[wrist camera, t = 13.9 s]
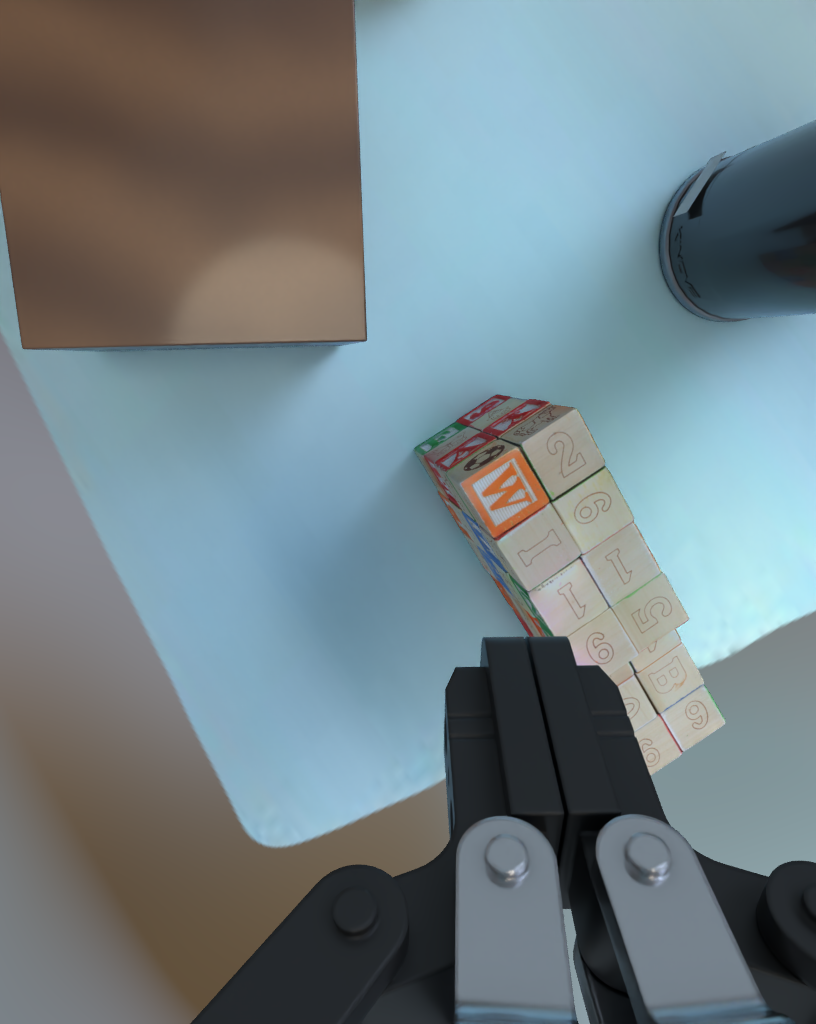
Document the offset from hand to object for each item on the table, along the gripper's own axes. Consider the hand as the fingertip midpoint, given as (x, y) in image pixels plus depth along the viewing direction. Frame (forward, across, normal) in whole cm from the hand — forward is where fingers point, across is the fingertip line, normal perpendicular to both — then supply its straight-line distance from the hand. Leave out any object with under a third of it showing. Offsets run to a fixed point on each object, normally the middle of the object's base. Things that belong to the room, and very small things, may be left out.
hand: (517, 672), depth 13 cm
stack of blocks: (+28, -6, +17) cm, 33 cm away
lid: (+21, +10, -7) cm, 24 cm away
